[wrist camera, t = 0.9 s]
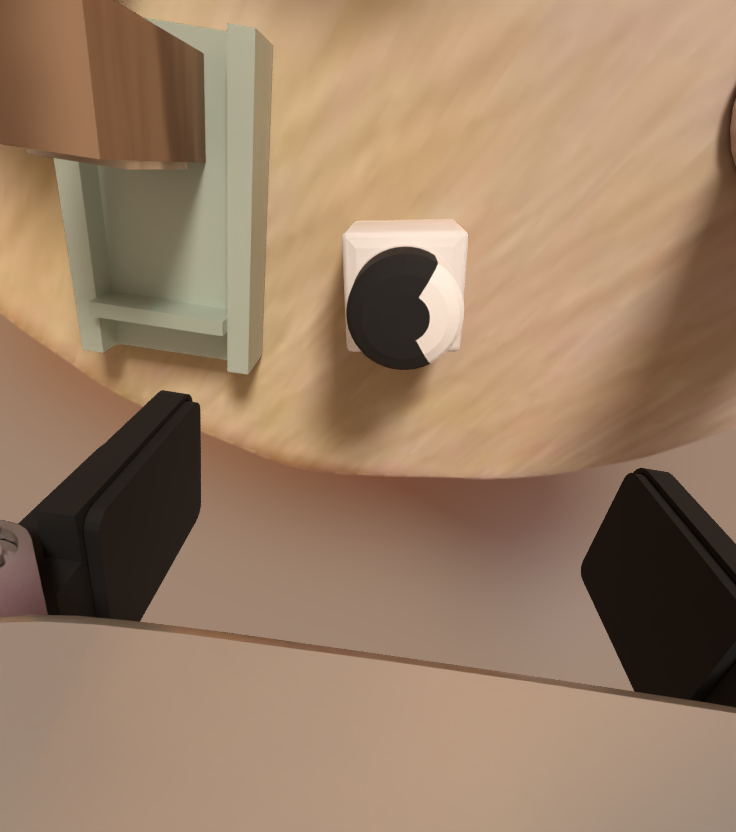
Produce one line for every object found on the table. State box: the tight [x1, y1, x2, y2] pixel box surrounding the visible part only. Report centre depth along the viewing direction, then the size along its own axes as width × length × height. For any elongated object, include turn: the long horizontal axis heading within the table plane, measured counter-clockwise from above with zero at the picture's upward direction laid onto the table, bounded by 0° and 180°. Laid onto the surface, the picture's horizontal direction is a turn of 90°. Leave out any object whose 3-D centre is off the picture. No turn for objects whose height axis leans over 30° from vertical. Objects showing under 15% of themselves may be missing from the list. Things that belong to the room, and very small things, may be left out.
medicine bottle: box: [342, 219, 468, 370], centre depth 29 cm, size 7×7×12 cm
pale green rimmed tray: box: [54, 18, 273, 374], centre depth 31 cm, size 12×20×5 cm, turn 172°
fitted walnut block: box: [0, 0, 206, 170], centre depth 23 cm, size 5×6×12 cm
